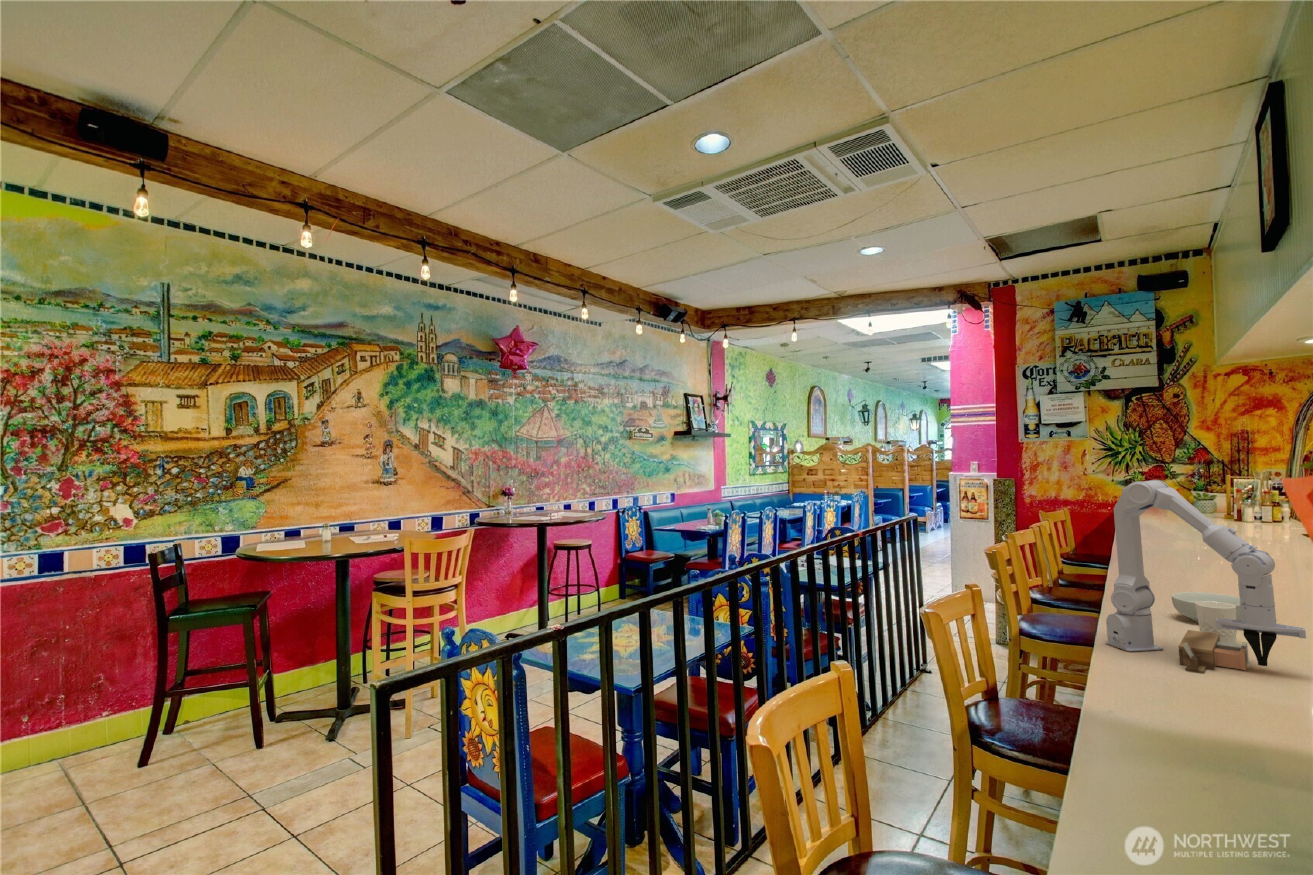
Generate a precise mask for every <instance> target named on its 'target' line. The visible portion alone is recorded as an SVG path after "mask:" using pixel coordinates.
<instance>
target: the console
mask: <svg viewBox="0 0 1313 875" xmlns="http://www.w3.org/2000/svg"><path fill="white" fill-rule="evenodd" d="M1217 641H1218V642H1220V634H1218V633H1210V632H1202V631H1200V630H1193V629H1192V630H1191V629H1188V630H1187V631H1186V632H1185V634H1184V636H1183V638H1182V640H1181V641H1180V643H1179V645H1178V657H1179V665H1180V666H1183V667H1185V671H1186V672H1189V673H1190V672H1192V673H1196V674H1197V673H1199V674H1205V672H1206V670H1209V671H1215V668H1216V665H1215V659H1214V648H1217ZM1183 643H1188V645H1189V647H1190V648H1191V650H1192V651H1193V653H1194V654H1195V656H1196V657H1197V658H1198V659H1199V660H1198V662H1197V659H1194V658H1190V656H1189V655H1188V653H1187V652H1186V650H1185V648H1184V647H1183V645H1182V644H1183Z"/></svg>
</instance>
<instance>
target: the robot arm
mask: <svg viewBox="0 0 1313 875" xmlns="http://www.w3.org/2000/svg"><path fill="white" fill-rule="evenodd" d="M1150 508H1154V509H1161V510H1165V511H1170V512H1172V513H1173V514H1174V515H1176V516H1177V517H1179V518H1180V519H1181V520H1183V521H1184V522H1185V523H1187V524H1188V525H1190V526H1191V527H1192V528H1194V529H1196V530H1197V531H1198V532H1199V533H1201V536H1202V541H1203V542H1204V543H1205V544H1206V545H1207V546H1208V547H1210V548H1211V549H1212V550H1213V551H1215V552H1216V553H1217V554H1219V556H1221V557H1222V558H1224V559H1225V560H1226V561H1227V562H1228V563H1231V564H1230V565H1231V569H1232V570H1233V571H1234V573H1235V574H1236V575H1237V582H1238V584H1237V585H1238V586H1237V587H1238V594H1239V596H1238V597H1240V608H1241V620H1230V619H1216V627H1217V628H1219V629H1223V628H1225V629H1233V630H1237V631H1242V632H1243V634H1242V635H1243V636H1244V638H1245V640H1246V642H1247V644H1248V645H1249V646H1250V647H1251V649H1252V651H1253V653H1254V656H1255V657H1256V660H1257V664H1258V666H1262V667H1268V658H1269V655H1270V651H1271V649H1272V647H1273V645H1274V644H1275V642H1276V640H1277V637H1278V636H1285V637H1293V638H1299V639H1307V633H1306V627H1300V626H1291V625H1286V624H1281V623H1277V616H1276V615H1277V614H1276V605H1275V603H1276V602H1275V593H1274V586H1273V577H1272V572H1273V571H1274V570H1275V568H1276V567H1275V566H1276V562H1275V560H1274V558H1273V557H1272V556H1271V555H1270V554H1269V553H1268V552H1267V551H1264V550H1261V549H1257V548H1258V547H1257V546H1256V545H1255V544H1250V543H1249V542H1247V541H1246V540H1245V539H1243V538H1242V537H1241V536H1239V535H1238V534H1236V533H1238V531H1237V530H1236V528H1234V527H1230V528H1229V527H1228V526H1227V525H1224V524H1223V525H1221V524H1219V525H1218V524H1215V523H1214V522H1213V521H1212V520H1210V519H1209V518H1208V517H1206V515H1205V514H1204V513H1202V512H1201V511H1200V510H1198V509H1197V508H1196V507H1195V506H1194V505H1192V503H1190V502H1189V501H1188V500H1187V499H1186V498H1184V497H1183V496H1182V495H1181V494H1180V493H1179V492H1178V491H1177V490H1176V489H1175V488H1174V487H1170V486H1169V485H1168V484H1167V483H1166V482H1164V481H1162V480H1160V479H1151V480H1150V479H1149V480H1145V481H1141V480H1140V481H1139V480H1138V481H1133V482H1131V483H1129V484H1128V485H1126V486H1125V487H1123V488H1122V489H1121V495H1120V497H1119V498H1118V500H1117V502H1116V503H1115V505H1114V507H1113V515H1114V517H1113V520H1114V529H1115V541H1116V542H1115V543H1116V554H1117V555H1116V557H1117V566H1118V567H1117V568H1118V569H1117V570H1118V576H1117V578H1116V579H1115V581H1114V583H1113V591H1112V592H1111V595H1110V602H1111V604H1112V607H1114V608H1115V610H1116V611H1115V612H1114V613H1110V614H1108V615H1107V617H1106V635H1107V641H1106V640H1105V644H1107V645H1110V646H1112V647H1115V648H1118V649H1121V650H1123V651H1126V652H1142V651H1143V652H1144V651H1145V652H1146V651H1160V650H1162V651H1163V650H1164V649H1165V648H1164V647H1163V646H1159V645H1156V644H1155V640H1154V628H1153V626H1154V625H1153V616H1152V611H1151V607H1152V606H1153V605H1154V604H1155V602H1156V597H1155V594H1154V592H1153V590H1152V588H1151V586H1150V581H1149V580H1148V579H1147V577H1146V576H1145V571H1144V570H1145V567H1144V558H1143V556H1144V555H1143V546H1142V544H1143V542H1142V535H1141V534H1142V533H1141V519H1140V516H1141V515H1143V514H1144V513H1145V512H1147V511H1149V509H1150ZM1277 635H1278V636H1277Z"/></svg>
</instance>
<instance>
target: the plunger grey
mask: <svg viewBox="0 0 1313 875" xmlns="http://www.w3.org/2000/svg"><path fill="white" fill-rule="evenodd" d="M1217 648H1218V649H1225V650H1233V651H1240V649H1245V650H1246V660H1247V664H1248V662H1249V648H1248V641H1242V643H1236V644H1234V643H1226V642H1218V641H1217Z"/></svg>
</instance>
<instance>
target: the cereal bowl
mask: <svg viewBox="0 0 1313 875" xmlns="http://www.w3.org/2000/svg"><path fill="white" fill-rule="evenodd" d="M1171 601H1172V602H1171V603H1172V606H1173V608H1174V609H1175V610H1176V611H1177V612H1178V614H1181V615H1182V616H1184V617H1187V618H1188V619H1192V621H1194V622H1196V621H1197V622H1196V623H1199V622H1198V617H1197V610H1196V602H1203V601H1209V602H1221V603H1228V604H1232V605H1235V606H1236V620H1242V619H1241V608H1240V597H1239V596H1235V595H1232V594H1231V595H1230V594H1224V593H1218V592H1217V593H1216V592H1207V591H1206V592H1204V591H1186V592H1185V591H1183V592H1176V593H1172V594H1171Z"/></svg>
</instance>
